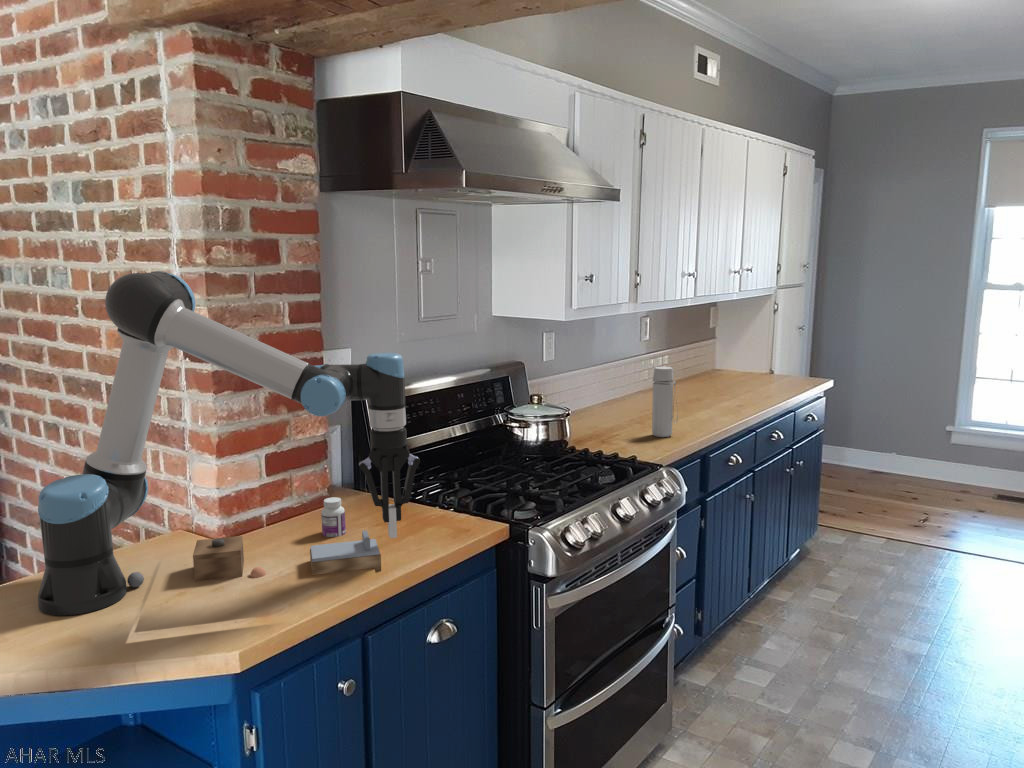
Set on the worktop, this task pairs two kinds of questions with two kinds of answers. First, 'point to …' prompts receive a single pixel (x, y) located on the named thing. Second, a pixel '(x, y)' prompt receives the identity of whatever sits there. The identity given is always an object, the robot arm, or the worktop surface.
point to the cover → (218, 558)
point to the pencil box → (346, 564)
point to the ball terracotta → (258, 572)
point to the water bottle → (663, 401)
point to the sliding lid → (345, 549)
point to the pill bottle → (333, 518)
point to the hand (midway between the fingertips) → (392, 535)
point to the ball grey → (135, 579)
